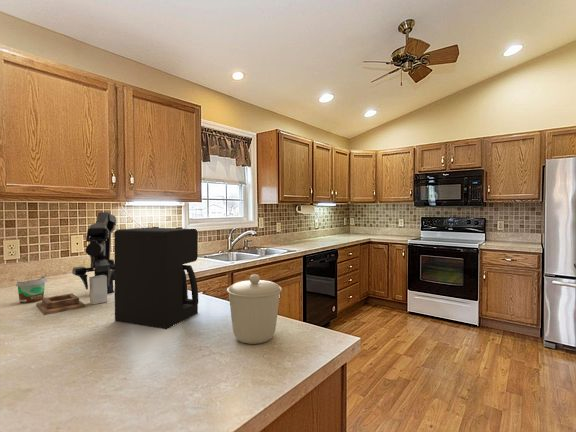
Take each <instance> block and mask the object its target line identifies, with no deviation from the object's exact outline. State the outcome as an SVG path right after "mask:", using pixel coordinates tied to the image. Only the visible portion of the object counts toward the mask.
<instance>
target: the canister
mask: <svg viewBox="0 0 576 432" xmlns="http://www.w3.org/2000/svg"><path fill="white" fill-rule="evenodd" d="M248 278H249V279H248V280H241V281H237V282H234V283H233V284H232V285H229V287H227V288H226V292H227V294H228V298H229V299H228V301H229V306H230V317H231V324H232V326H231V327H232V333H233V334H234V337H235V338H236V340H237V341H238V342H240V343H244V344H250V345H257V343H258V344H263V343H266V342H269V341H270V340H271V339H272V338H273V337H274V335H275V332H276V328H277V320H278V313H279V304H280V295H281V294H280V293H281V292H282V290H283V288H282V286H280V284H277V283H276V282H273V281H271V280H270V281H269V280H261V277H260V275H259V274H254V273H253V274H251V275H250V276H249V277H248Z"/></svg>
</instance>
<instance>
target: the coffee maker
mask: <svg viewBox="0 0 576 432" xmlns="http://www.w3.org/2000/svg"><path fill="white" fill-rule="evenodd" d="M198 234H199V231H198V230H197V229H196V228H183V227H176V228H175V227H171V228H170V227H159V226H152V227H137V228H124V229H123V228H121V229H116V230H114V234H113V235H114V239H113V240H114V263H115V280H114V322H118V323H123V324H131V325H137V326H144V327H147V328H148V327H149V328H155V329H161V328H162V329H161V330H168V329H170V328H172V327H174V326H176V325H177V323H178V324H180V323H182V322H183V320H184V321H186V320H188V319H189V318H191V317H194V315H197V314H198V313H199V311H198V309H199V307H198V306H199V305H198V304H199V289H198V283H197V282H198V281H197V277H196V274H195V272H194V271H195V270H194V269H193V267H192V265H190V263H194V262H197V260H198V255H199V254H198V253H199V252H198V250H199V249H198V247H199V246H198V241H199V236H198ZM186 273H187V275H186ZM187 276H188V279H189V284H190V290H191V298H189V296H188V295H189V292H188V290H189V288H188V281H187ZM185 319H186V320H185ZM181 321H182V322H181ZM179 322H180V323H179ZM175 324H176V325H175ZM173 325H174V326H173Z"/></svg>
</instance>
